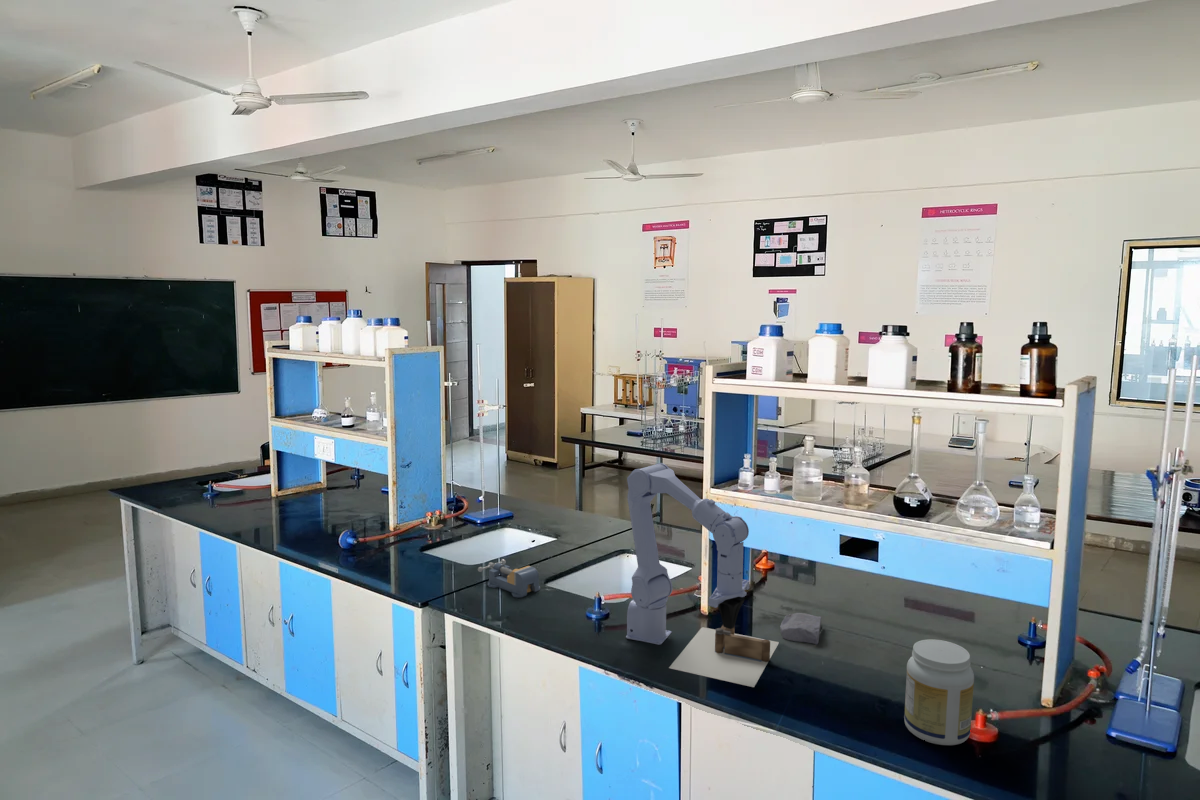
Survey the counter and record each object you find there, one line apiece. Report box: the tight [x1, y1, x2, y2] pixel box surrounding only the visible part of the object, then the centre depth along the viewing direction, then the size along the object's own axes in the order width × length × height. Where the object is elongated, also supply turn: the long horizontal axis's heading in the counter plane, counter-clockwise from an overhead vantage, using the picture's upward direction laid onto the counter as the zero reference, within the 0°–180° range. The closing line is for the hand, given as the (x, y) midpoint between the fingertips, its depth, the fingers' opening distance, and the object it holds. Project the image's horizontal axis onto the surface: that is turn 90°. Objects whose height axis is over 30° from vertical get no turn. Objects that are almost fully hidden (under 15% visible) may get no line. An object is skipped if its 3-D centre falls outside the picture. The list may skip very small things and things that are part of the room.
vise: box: [477, 558, 541, 598], centre depth 230 cm, size 18×10×7 cm, turn 48°
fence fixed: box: [715, 624, 736, 653], centre depth 192 cm, size 2×12×5 cm, turn 154°
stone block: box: [779, 612, 822, 646], centre depth 198 cm, size 12×5×10 cm
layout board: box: [668, 627, 780, 688], centre depth 186 cm, size 20×24×1 cm
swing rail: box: [715, 627, 771, 662], centre depth 185 cm, size 13×2×5 cm, turn 66°
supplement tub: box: [903, 638, 975, 746], centre depth 154 cm, size 12×12×17 cm
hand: (728, 627), depth 179 cm, fingers closed
